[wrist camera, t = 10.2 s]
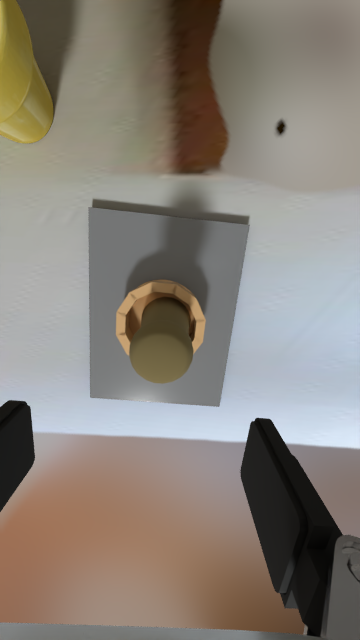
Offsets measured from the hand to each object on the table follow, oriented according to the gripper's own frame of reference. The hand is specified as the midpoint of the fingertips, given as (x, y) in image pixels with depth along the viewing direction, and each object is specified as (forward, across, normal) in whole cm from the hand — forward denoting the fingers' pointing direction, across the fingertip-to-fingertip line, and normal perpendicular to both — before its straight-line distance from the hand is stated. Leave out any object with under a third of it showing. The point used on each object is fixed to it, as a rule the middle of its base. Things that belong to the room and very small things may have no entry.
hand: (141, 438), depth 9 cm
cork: (+18, 0, 0) cm, 19 cm away
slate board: (+20, 0, 0) cm, 20 cm away
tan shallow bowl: (+19, 0, 0) cm, 19 cm away
